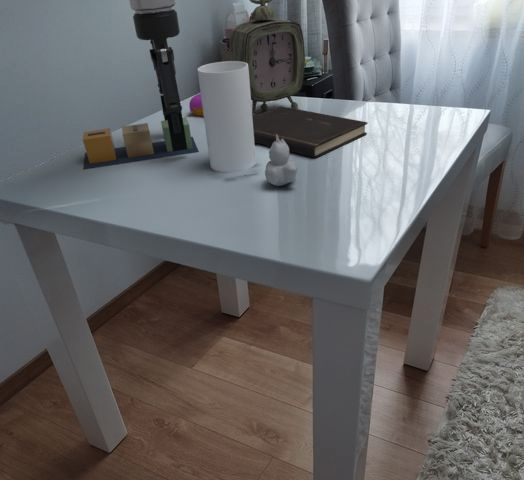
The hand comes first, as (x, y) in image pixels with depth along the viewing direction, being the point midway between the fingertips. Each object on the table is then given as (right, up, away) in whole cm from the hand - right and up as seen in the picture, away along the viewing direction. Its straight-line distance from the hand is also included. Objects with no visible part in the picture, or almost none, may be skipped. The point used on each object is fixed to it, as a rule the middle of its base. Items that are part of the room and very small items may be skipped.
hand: (176, 139), depth 100 cm
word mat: (-7, -3, 0) cm, 8 cm away
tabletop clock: (+18, +13, +16) cm, 28 cm away
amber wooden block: (-14, -4, -1) cm, 15 cm away
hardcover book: (+24, +1, +2) cm, 24 cm away
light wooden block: (-7, -3, 0) cm, 8 cm away
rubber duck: (+20, -15, -16) cm, 30 cm away
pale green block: (0, -1, +1) cm, 1 cm away
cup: (+12, -8, -8) cm, 17 cm away
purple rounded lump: (+5, +14, +19) cm, 25 cm away
